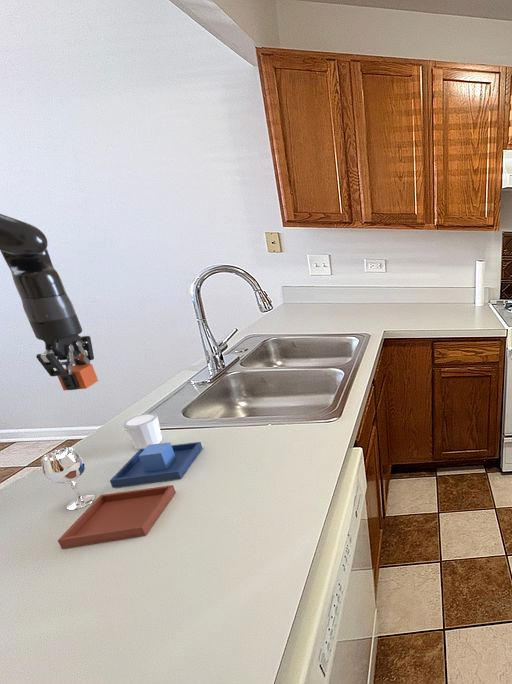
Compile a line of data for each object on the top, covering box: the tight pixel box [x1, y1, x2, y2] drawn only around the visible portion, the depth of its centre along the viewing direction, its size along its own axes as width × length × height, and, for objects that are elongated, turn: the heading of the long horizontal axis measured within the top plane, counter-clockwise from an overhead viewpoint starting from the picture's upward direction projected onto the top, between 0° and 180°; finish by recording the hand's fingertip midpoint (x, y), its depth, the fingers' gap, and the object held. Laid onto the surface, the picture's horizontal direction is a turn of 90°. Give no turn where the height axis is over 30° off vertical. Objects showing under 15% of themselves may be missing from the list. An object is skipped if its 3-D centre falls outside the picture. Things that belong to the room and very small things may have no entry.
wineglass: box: [40, 446, 97, 511], centre depth 80 cm, size 6×6×12 cm
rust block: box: [57, 363, 99, 391], centre depth 94 cm, size 4×4×4 cm
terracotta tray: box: [57, 484, 177, 550], centre depth 78 cm, size 13×12×2 cm
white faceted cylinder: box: [122, 412, 163, 450], centre depth 101 cm, size 7×7×7 cm
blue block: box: [139, 441, 176, 472], centre depth 92 cm, size 4×4×4 cm
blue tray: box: [109, 441, 203, 489], centre depth 93 cm, size 13×12×2 cm
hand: (80, 384), depth 94 cm, fingers closed on rust block, 4 cm apart
